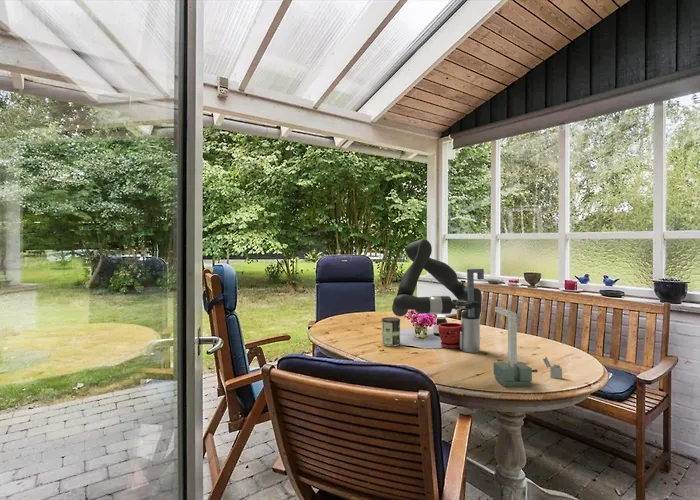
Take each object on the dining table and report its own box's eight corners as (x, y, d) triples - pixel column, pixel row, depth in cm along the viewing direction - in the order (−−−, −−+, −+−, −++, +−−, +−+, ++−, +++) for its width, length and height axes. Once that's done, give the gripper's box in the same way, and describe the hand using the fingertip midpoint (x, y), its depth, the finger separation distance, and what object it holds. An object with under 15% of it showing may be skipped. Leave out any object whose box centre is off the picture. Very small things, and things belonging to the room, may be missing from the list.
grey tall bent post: (503, 387, 138) (503, 315, 137) (483, 370, 156) (483, 307, 156) (543, 386, 138) (543, 314, 138) (519, 370, 156) (519, 306, 156)
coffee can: (399, 341, 205) (399, 317, 205) (401, 346, 194) (401, 320, 194) (381, 341, 205) (381, 317, 205) (382, 346, 195) (382, 320, 194)
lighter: (562, 377, 147) (562, 358, 147) (561, 379, 146) (561, 359, 146) (542, 374, 151) (542, 355, 151) (542, 375, 150) (542, 356, 150)
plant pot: (460, 343, 200) (460, 322, 200) (465, 349, 187) (465, 327, 187) (437, 343, 201) (436, 321, 201) (440, 349, 188) (440, 327, 188)
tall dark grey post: (469, 317, 152) (468, 269, 151) (468, 316, 154) (467, 269, 153) (484, 316, 152) (483, 269, 151) (482, 315, 154) (481, 268, 153)
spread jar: (437, 332, 227) (437, 313, 227) (454, 334, 220) (454, 315, 220) (429, 335, 218) (429, 316, 218) (446, 338, 211) (446, 319, 211)
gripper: (443, 298, 145) (485, 298, 146) (434, 294, 159) (473, 293, 159) (443, 317, 145) (485, 316, 146) (434, 310, 159) (473, 310, 160)
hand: (478, 304), depth 153 cm, fingers closed on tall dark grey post, 2 cm apart
